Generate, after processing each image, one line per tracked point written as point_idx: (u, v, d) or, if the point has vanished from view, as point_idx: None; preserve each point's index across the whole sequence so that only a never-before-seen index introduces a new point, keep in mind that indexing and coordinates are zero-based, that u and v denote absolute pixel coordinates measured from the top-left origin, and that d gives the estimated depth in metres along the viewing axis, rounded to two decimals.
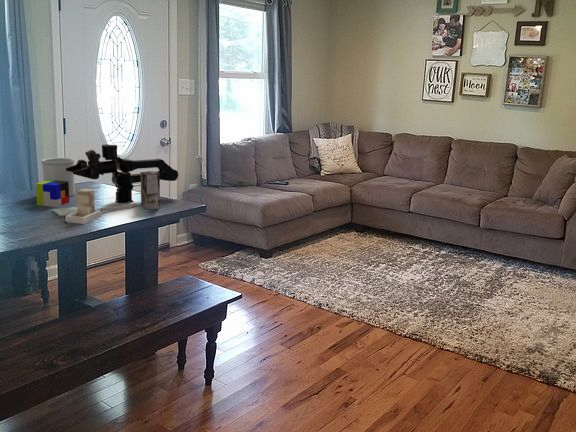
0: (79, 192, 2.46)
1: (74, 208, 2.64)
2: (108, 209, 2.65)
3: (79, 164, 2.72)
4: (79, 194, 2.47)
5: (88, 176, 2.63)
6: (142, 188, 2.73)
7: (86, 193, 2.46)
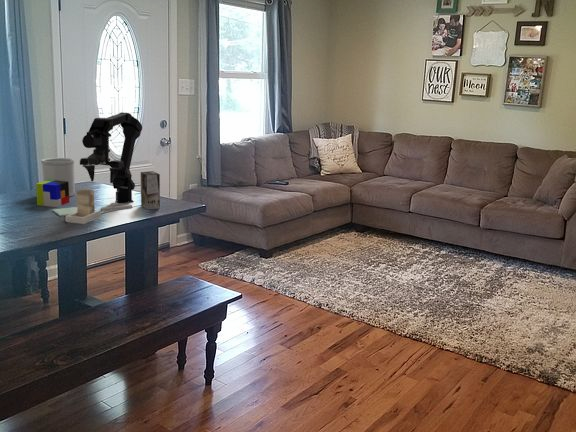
0: (79, 192, 2.46)
1: (74, 208, 2.64)
2: (108, 209, 2.65)
3: (89, 167, 2.62)
4: (79, 194, 2.47)
5: (117, 169, 2.63)
6: (142, 188, 2.73)
7: (86, 193, 2.46)
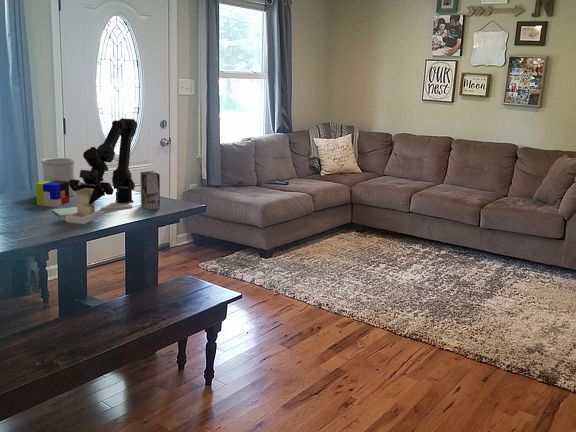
0: (79, 192, 2.46)
1: (74, 208, 2.64)
2: (108, 209, 2.65)
3: (81, 188, 2.51)
4: (79, 194, 2.47)
5: (100, 195, 2.52)
6: (142, 188, 2.73)
7: (86, 193, 2.46)
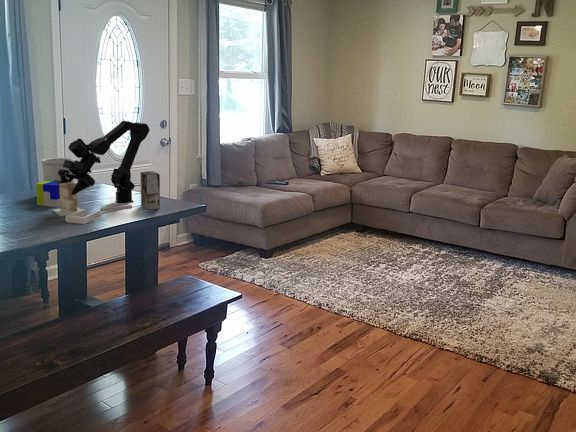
0: (61, 185, 2.55)
1: None
2: (108, 209, 2.65)
3: (64, 177, 2.60)
4: (61, 187, 2.55)
5: (85, 186, 2.57)
6: (142, 188, 2.73)
7: (66, 186, 2.54)
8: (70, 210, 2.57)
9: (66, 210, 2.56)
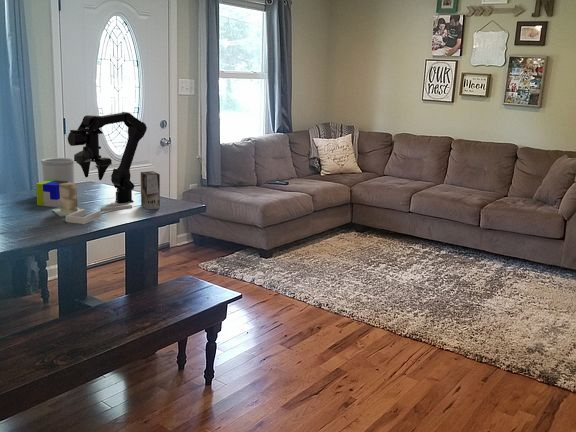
0: (61, 185, 2.55)
1: None
2: (108, 209, 2.65)
3: (82, 163, 2.68)
4: (61, 187, 2.55)
5: (106, 166, 2.65)
6: (142, 188, 2.73)
7: (66, 186, 2.54)
8: (70, 210, 2.57)
9: (66, 210, 2.56)
